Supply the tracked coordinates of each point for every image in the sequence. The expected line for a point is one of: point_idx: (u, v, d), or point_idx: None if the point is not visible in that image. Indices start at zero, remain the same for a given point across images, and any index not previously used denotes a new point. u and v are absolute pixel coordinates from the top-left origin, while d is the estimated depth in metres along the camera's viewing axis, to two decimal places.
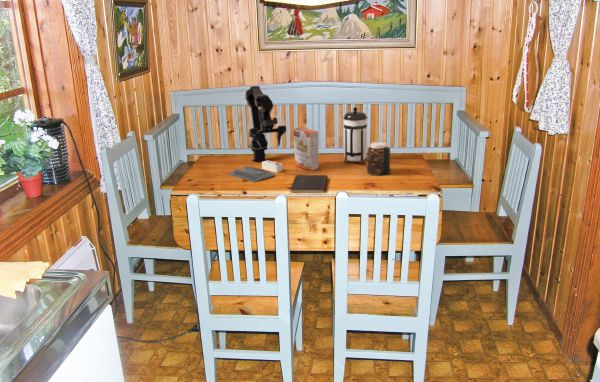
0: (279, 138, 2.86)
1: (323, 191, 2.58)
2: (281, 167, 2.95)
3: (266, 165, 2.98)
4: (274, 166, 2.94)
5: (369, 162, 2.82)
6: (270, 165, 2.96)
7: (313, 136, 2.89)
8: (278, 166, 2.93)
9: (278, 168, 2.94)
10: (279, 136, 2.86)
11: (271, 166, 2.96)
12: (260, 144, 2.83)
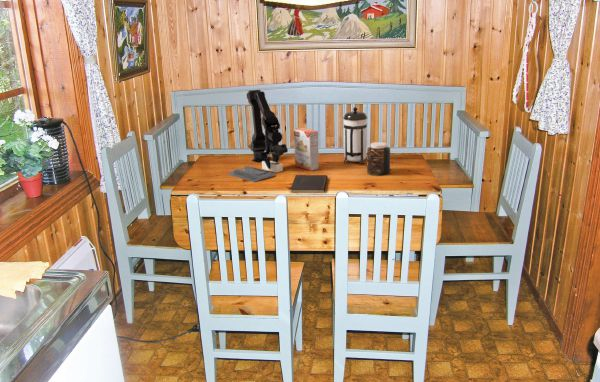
0: (277, 160, 2.98)
1: (323, 191, 2.58)
2: (281, 167, 2.95)
3: (266, 165, 2.98)
4: (274, 166, 2.94)
5: (369, 162, 2.82)
6: (270, 165, 2.96)
7: (313, 136, 2.89)
8: (278, 166, 2.93)
9: (278, 168, 2.93)
10: (277, 158, 2.98)
11: (271, 166, 2.95)
12: (269, 166, 2.96)
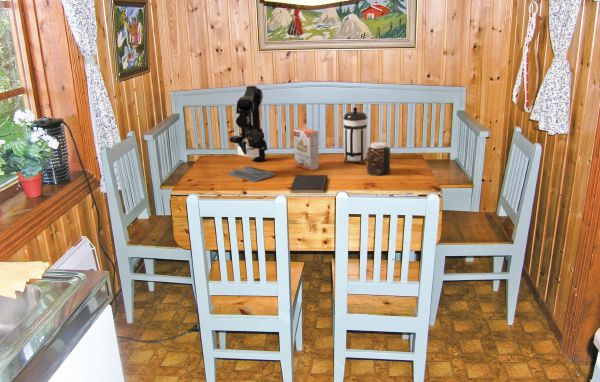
0: (253, 145, 2.88)
1: (323, 191, 2.58)
2: (257, 152, 2.85)
3: None
4: (250, 151, 2.83)
5: (369, 162, 2.82)
6: (246, 150, 2.86)
7: (313, 136, 2.89)
8: (254, 151, 2.83)
9: (254, 153, 2.83)
10: (253, 144, 2.88)
11: (247, 151, 2.85)
12: (245, 151, 2.86)
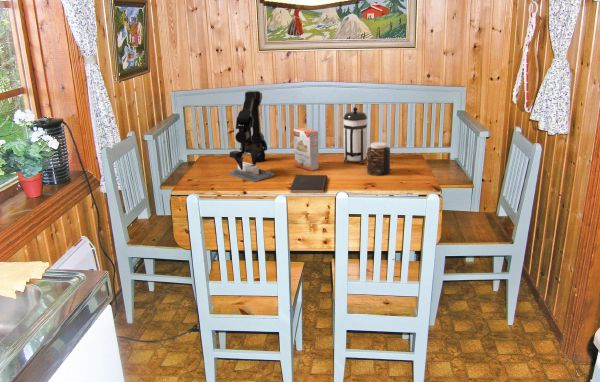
0: (256, 159, 2.92)
1: (323, 191, 2.58)
2: (257, 169, 2.87)
3: None
4: (250, 168, 2.86)
5: (369, 162, 2.82)
6: (246, 167, 2.88)
7: (313, 136, 2.89)
8: (254, 168, 2.86)
9: (254, 170, 2.86)
10: (256, 157, 2.91)
11: (247, 168, 2.88)
12: (242, 167, 2.87)
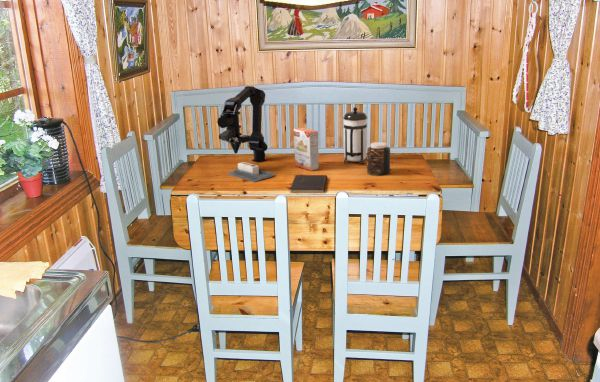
0: (234, 147, 2.93)
1: (323, 191, 2.58)
2: (257, 169, 2.87)
3: (242, 167, 2.91)
4: (250, 168, 2.86)
5: (369, 162, 2.82)
6: (246, 167, 2.88)
7: (313, 136, 2.89)
8: (254, 168, 2.86)
9: (254, 170, 2.86)
10: (234, 145, 2.92)
11: (247, 168, 2.88)
12: (233, 150, 2.95)
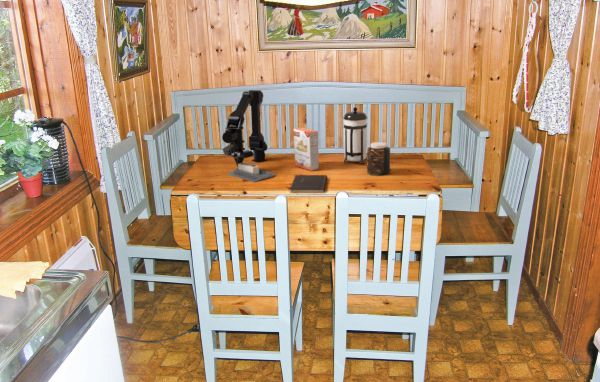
0: (237, 161, 2.94)
1: (323, 191, 2.58)
2: (257, 169, 2.87)
3: (242, 167, 2.91)
4: (250, 168, 2.86)
5: (369, 162, 2.82)
6: (246, 167, 2.88)
7: (313, 136, 2.89)
8: (254, 168, 2.85)
9: (254, 170, 2.86)
10: (237, 160, 2.93)
11: (247, 168, 2.88)
12: (237, 165, 2.95)
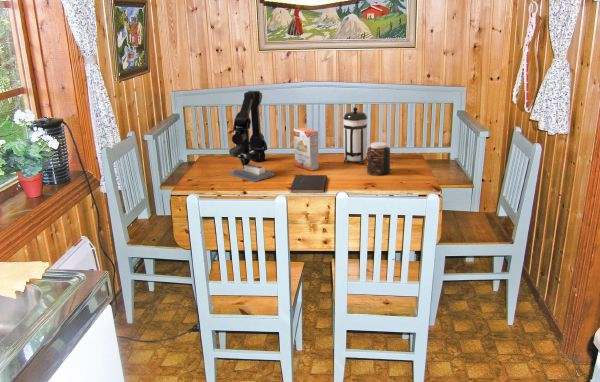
0: (244, 163, 2.90)
1: (323, 191, 2.58)
2: (264, 171, 2.83)
3: (248, 168, 2.87)
4: (256, 170, 2.82)
5: (369, 162, 2.82)
6: (252, 169, 2.84)
7: (313, 136, 2.89)
8: (260, 170, 2.82)
9: (260, 172, 2.82)
10: (243, 161, 2.89)
11: (253, 170, 2.84)
12: (243, 166, 2.92)
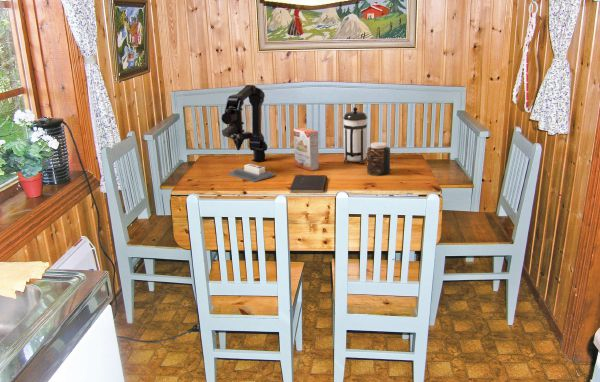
0: (237, 143, 2.90)
1: (322, 191, 2.58)
2: (264, 171, 2.83)
3: (248, 168, 2.87)
4: (256, 170, 2.82)
5: (369, 162, 2.82)
6: (252, 169, 2.84)
7: (313, 136, 2.89)
8: (260, 170, 2.82)
9: (260, 172, 2.82)
10: (237, 142, 2.90)
11: (253, 170, 2.84)
12: (236, 147, 2.92)
